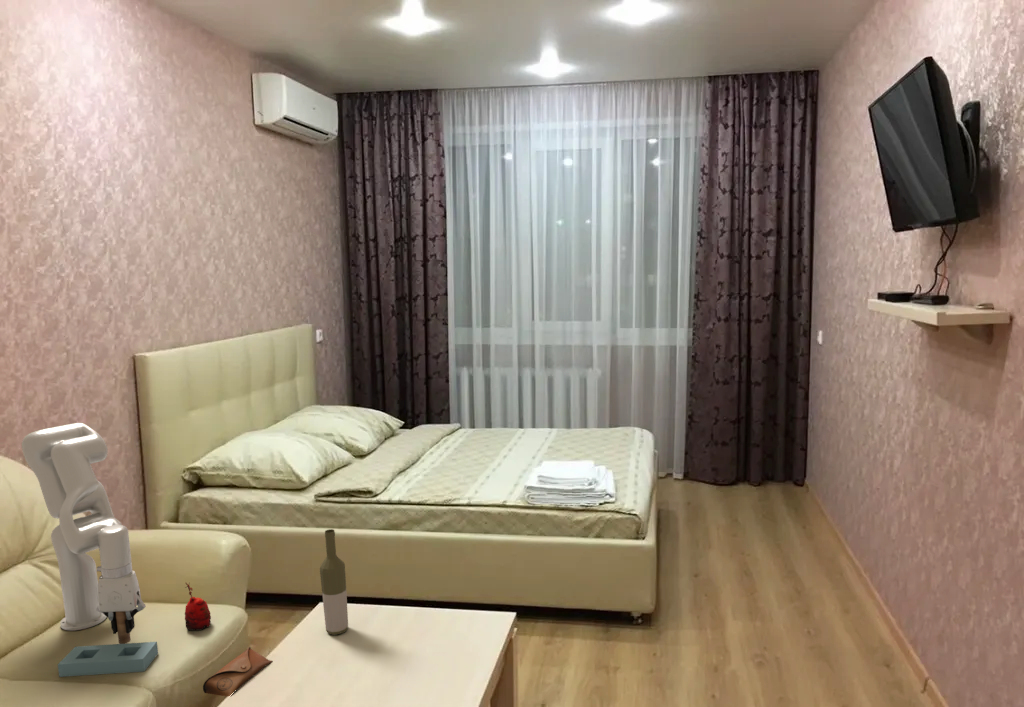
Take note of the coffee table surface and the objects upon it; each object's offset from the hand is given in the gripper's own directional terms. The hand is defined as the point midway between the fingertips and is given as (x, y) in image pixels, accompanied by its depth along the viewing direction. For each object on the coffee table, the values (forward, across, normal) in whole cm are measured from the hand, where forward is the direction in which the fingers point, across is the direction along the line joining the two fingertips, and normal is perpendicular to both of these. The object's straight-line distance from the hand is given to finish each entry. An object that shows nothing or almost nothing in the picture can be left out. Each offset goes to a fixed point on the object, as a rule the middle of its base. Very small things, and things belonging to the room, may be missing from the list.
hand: (123, 630), depth 216 cm
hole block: (+4, +1, -11) cm, 11 cm away
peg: (+3, 0, 0) cm, 3 cm away
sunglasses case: (+4, +38, -20) cm, 43 cm away
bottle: (+3, +60, 0) cm, 60 cm away
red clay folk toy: (+4, +18, +8) cm, 20 cm away
